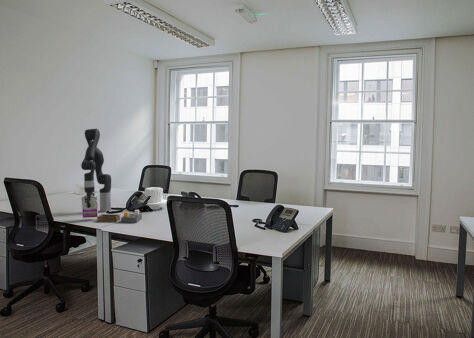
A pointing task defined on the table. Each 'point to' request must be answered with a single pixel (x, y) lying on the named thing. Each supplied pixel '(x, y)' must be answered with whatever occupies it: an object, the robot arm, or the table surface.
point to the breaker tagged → (126, 214)
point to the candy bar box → (93, 207)
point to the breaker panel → (131, 218)
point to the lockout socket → (108, 218)
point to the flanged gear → (155, 197)
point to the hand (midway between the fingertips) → (90, 206)
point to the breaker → (136, 212)
